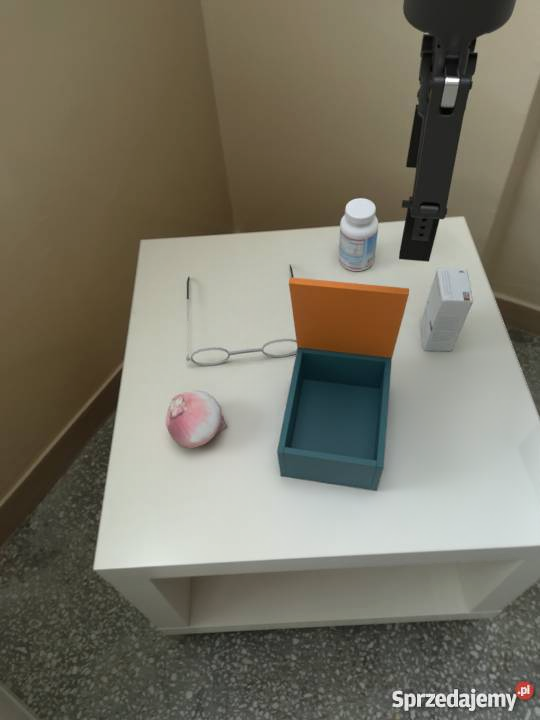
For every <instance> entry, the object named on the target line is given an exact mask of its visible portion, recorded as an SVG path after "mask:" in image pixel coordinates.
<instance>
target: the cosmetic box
mask: <svg viewBox="0 0 540 720" xmlns="http://www.w3.org/2000/svg"><path fill="white" fill-rule="evenodd" d="M430 287H431V288H430V290H429V294H428V296H427V300H426V303H425V306H424V310H423V313H422V315H421V319H420V329H421V330H420V332H421V341H422V347H423V350H424V351H426V352H427V351H428V352H452V351H453V349H454V347H455V344H456V342H457V339H458V337H459V335H460V333H461V331H462V328H463V326H464V324H465V322H466V320H467V317H468V315H469V313H470V310H471V309H472V306H473V303H474V296H473V292H472V282H471V279H470V276H469V270H468V268H467V267H444V268H443V267H441V268H440V267H439V268H437V269H436V272H435V274H434V278H433V281H432V284H431V286H430Z"/></svg>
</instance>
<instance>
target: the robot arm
mask: <svg viewBox="0 0 540 720" xmlns="http://www.w3.org/2000/svg"><path fill="white" fill-rule="evenodd" d="M516 3H517V0H403V3H402V11H403V15H404V18H405V19H406V21H407V23H408V24H409V25H410V26H411V27H412V28H414V29H416V30H417V31H419V32H420V33H421V32H422V33H423V34H422V39H421V46H420V53H419V54H420V55H419V57H420V64H419V72H418V82H419V88H418V91H417V92H416V93H417V94H416V98H417V102H418V103H417V104H415V109H414V115H413V120H412V121H413V122H412V125H411V133H410V138H409V143H408V151H407V157H406V163H405V168H409V169H411V168H412V169H415V174H414V179H413V181H414V182H413V188H412V195H411V196H409V198H408V199H402V200H401V208H402V209H406V214H405V220H404V226H403V231H402V236H401V242H400V247H399V251H398V252H399V253H398V254H399V255H398V260H403V261H415V262H429V263H430V259H431V256H432V251H433V248H434V244H435V240H436V235H437V231H438V227H439V224H440V220H444V219H445V218H446V216H447V214H448V208H447V207H448V201H449V196H450V191H451V185H452V180H453V174H454V169H455V164H456V159H457V153H458V148H459V142H460V138H461V132H462V127H463V121H464V116H465V112H466V109H467V103H468V99H469V94H470V90H472V88H473V77H474V75H475V73H476V68H477V62H478V55H479V54H478V51H477V52H475V49H476V46H477V41H478V38H479V37H481V36H484V35H490V34H492V33H494V32H495V31H497V30H499V29H501V28H502V27H504V25H506V24H507V23H508V22H509V20H510V19H511V18H512V15H513V13H514V10H515V7H516Z"/></svg>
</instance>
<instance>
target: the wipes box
mask: <svg viewBox="0 0 540 720" xmlns="http://www.w3.org/2000/svg"><path fill="white" fill-rule="evenodd" d="M296 350H297V353H295V359H294V364H293V369H292V373H291V380H290V383H289V390H288V394H287V399H286V404H285V409H284V415H283V421H282V425H281V429H280V436H279V440H278V446H277V450H276V453H277V460H278V466H279V468H278V469H279V475H280V477H284V478H291V479H296V480H303V481H310V482H317V483H323V484H328V485H335V486H343V487H347V488H356V489H362V490H368V491H373V492H374V491H375V492H377V491H378V489H379V485H380V481H381V478H382V474H383V471H384V464H385V452H386V451H385V450H386V441H387V439H386V438H387V427H388V426H387V424H388V415H389V414H388V413H389V402H390V401H389V400H390V388H391V387H390V386H391V374H392V372H391V371H392V361H393V357H392V358H387V357H379V356H370V355H361V354H352V353H344V352H335V351H326V350H317V349H309V348H300V347H297V349H296Z"/></svg>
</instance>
